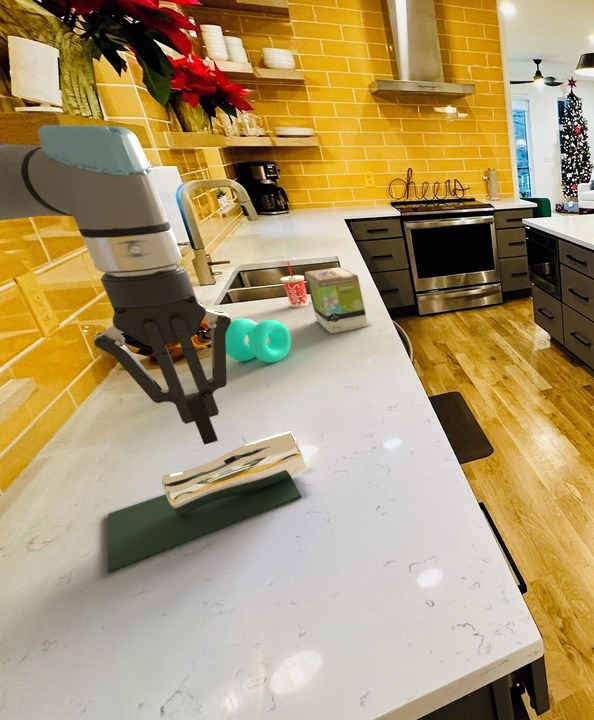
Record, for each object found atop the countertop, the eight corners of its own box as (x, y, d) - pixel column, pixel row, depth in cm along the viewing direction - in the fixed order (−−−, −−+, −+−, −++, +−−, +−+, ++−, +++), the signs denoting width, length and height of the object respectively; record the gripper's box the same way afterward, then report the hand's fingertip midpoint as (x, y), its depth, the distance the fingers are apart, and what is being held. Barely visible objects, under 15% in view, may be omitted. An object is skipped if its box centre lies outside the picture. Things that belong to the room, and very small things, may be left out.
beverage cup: (284, 308, 155) (271, 263, 149) (295, 302, 161) (282, 259, 155) (305, 308, 155) (292, 263, 150) (315, 302, 161) (303, 259, 155)
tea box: (370, 326, 140) (358, 274, 134) (330, 335, 134) (316, 281, 128) (354, 314, 150) (342, 265, 144) (316, 321, 144) (302, 270, 138)
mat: (109, 516, 69) (108, 513, 69) (280, 458, 82) (279, 455, 81) (109, 574, 60) (107, 571, 59) (302, 498, 72) (301, 495, 72)
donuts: (261, 351, 123) (248, 312, 119) (298, 353, 122) (287, 314, 118) (226, 367, 114) (211, 326, 110) (266, 369, 113) (252, 328, 109)
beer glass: (178, 499, 71) (299, 455, 80) (184, 530, 67) (311, 479, 76) (157, 463, 67) (286, 421, 76) (162, 493, 63) (298, 444, 72)
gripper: (60, 284, 52) (147, 470, 62) (216, 266, 61) (272, 432, 70) (64, 272, 57) (144, 445, 67) (208, 256, 66) (261, 412, 75)
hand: (209, 438), depth 68 cm, fingers closed
